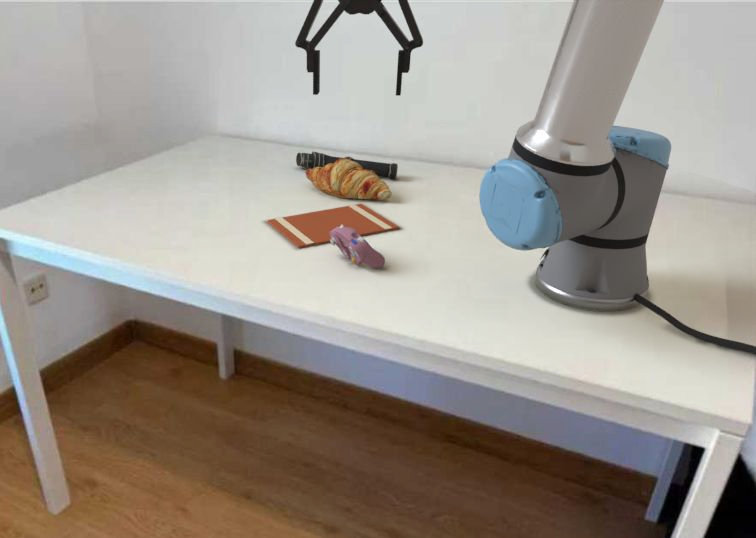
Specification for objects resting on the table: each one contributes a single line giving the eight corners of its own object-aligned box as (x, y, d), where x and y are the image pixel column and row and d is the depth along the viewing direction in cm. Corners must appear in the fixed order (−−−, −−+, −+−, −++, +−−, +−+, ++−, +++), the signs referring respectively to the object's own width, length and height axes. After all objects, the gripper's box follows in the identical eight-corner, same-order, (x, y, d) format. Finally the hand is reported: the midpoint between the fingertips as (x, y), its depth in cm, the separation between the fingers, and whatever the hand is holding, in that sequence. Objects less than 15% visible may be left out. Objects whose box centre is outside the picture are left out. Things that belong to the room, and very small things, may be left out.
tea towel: (399, 228, 124) (399, 226, 123) (298, 248, 117) (298, 245, 117) (361, 205, 135) (361, 203, 134) (267, 222, 128) (267, 219, 128)
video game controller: (336, 259, 116) (320, 228, 112) (357, 244, 117) (342, 211, 112) (366, 282, 109) (350, 249, 104) (389, 265, 109) (374, 231, 105)
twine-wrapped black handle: (403, 161, 148) (300, 148, 158) (396, 162, 144) (290, 149, 154) (400, 181, 150) (298, 167, 160) (393, 183, 145) (288, 168, 155)
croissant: (396, 215, 139) (409, 176, 138) (374, 204, 131) (387, 163, 130) (312, 193, 151) (323, 157, 149) (287, 182, 142) (299, 144, 141)
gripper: (446, -58, 104) (433, 89, 115) (284, -53, 108) (286, 88, 119) (447, -57, 98) (433, 98, 109) (275, -52, 102) (279, 97, 113)
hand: (356, 93), depth 114 cm, fingers open, 13 cm apart
